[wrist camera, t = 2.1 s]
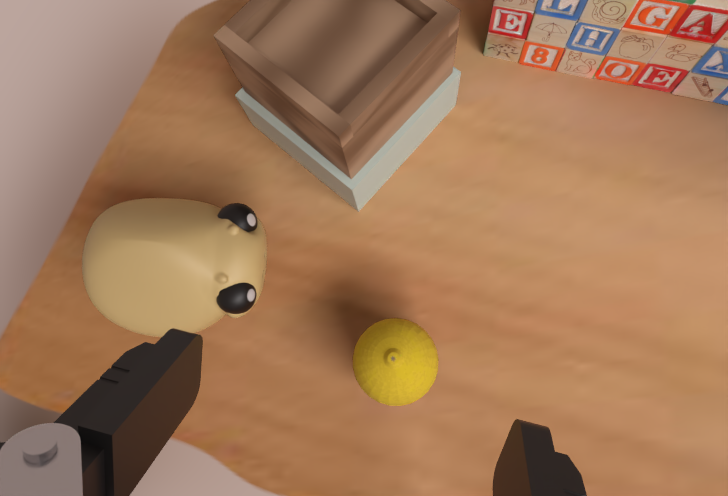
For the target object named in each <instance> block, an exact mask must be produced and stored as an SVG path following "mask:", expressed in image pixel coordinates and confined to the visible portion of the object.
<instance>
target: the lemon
mask: <svg viewBox="0 0 728 496" xmlns="http://www.w3.org/2000/svg"><path fill="white" fill-rule="evenodd" d="M353 370H354V373H355V377H356V380H357V381H358V383H359V385H360V387H361V388H362V389H363V390H364V392H365V393H366V394H367V395H368V396H369V397H371V398H373V399H374V400H376V401H377V402H379V403H383V404H386V405H391V406H402V405H406V404H410V403H413V402H414V401H416V400H418V399H420V398H421V397H422V396H423V395H425V394H426V393H427V392H428V391H429V389H430V388H431V386H432V385H433V383H434V381H435V378H436V375H437V372H438V355H437V349H436V347H435V345H434V342H433V340H432V338H431V337H430V336H429V335H428V333H427V332H426V331H425V330H424V329H423V328H421V327H420V326H419V325H417V324H416V323H413V322H411V321H409V320H406V319H399V318H391V319H384V320H382V321H379V322H376V323H374V324H373V325H372V326H370V327H369V328H367V329H366V330H365V332H364V333H363V334H362V335H361V336H360V338H359V340H358V342H357V344H356V346H355V349H354V354H353Z"/></svg>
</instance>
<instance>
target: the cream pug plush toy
mask: <svg viewBox="0 0 728 496" xmlns="http://www.w3.org/2000/svg"><path fill="white" fill-rule="evenodd" d="M266 263H267V238H266V233H265V229H264V227H263V225H262V223H261V222H260V220H259V219H258V218H257V217H256V215H255V213H254V211H253V210H252V209H251V208H249V207H248V206H246V205H244V204H240V203H234V204H229V205H227V206H225V207H223V208H222V209H221V208H219V207H217V206H215V205H212V204H209V203H205V202H201V201H195V200H187V199H176V198H146V199H136V200H130V201H125V202H122V203H119V204H116V205H114V206H112V207H110V208H108V209H107V210H105V211H104V212H103V213H101V214H100V215H99V216H98V218H97V219H96V220H95V221H94V223H93V225H92V226H91V228H90V230H89V233H88V235H87V238H86V241H85V245H84V249H83V256H82V274H83V280H84V284H85V288H86V291H87V293H88V296H89V298H90V299H91V301H92V303H93V304H94V306H95V307H96V308H97V309H98V311H99V312H100V313H101V314H102V315H104V316H105V317H106V318H107V319H109V320H110V321H112V322H113V323H115V324H116V325H118V326H120V327H122V328H125V329H127V330H130V331H132V332H135V333H139V334H143V335H148V336H154V337H163V336H164V334H165V333H166V332H167V331H168V330H170V329H172V328H175V329H178V330H182V331H186V332H190V333H196V332H199V331H202V330H204V329H206V328H208V327H210V326H212V325H213V324H215V323H216V322H218V321H219V320H220V319H221V318H222V317H223V316H225V315H226V314H227V315H228V316H230V317H232V318H239V317H242V316H244V315H245V314H247V313H248V312H249V311H250V310H251V309H252V308H253V306H254V305H255V304H256V302H257V301H258V299H259V297H260V295H261V292H262V289H263V285H264V280H265V273H266Z"/></svg>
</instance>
